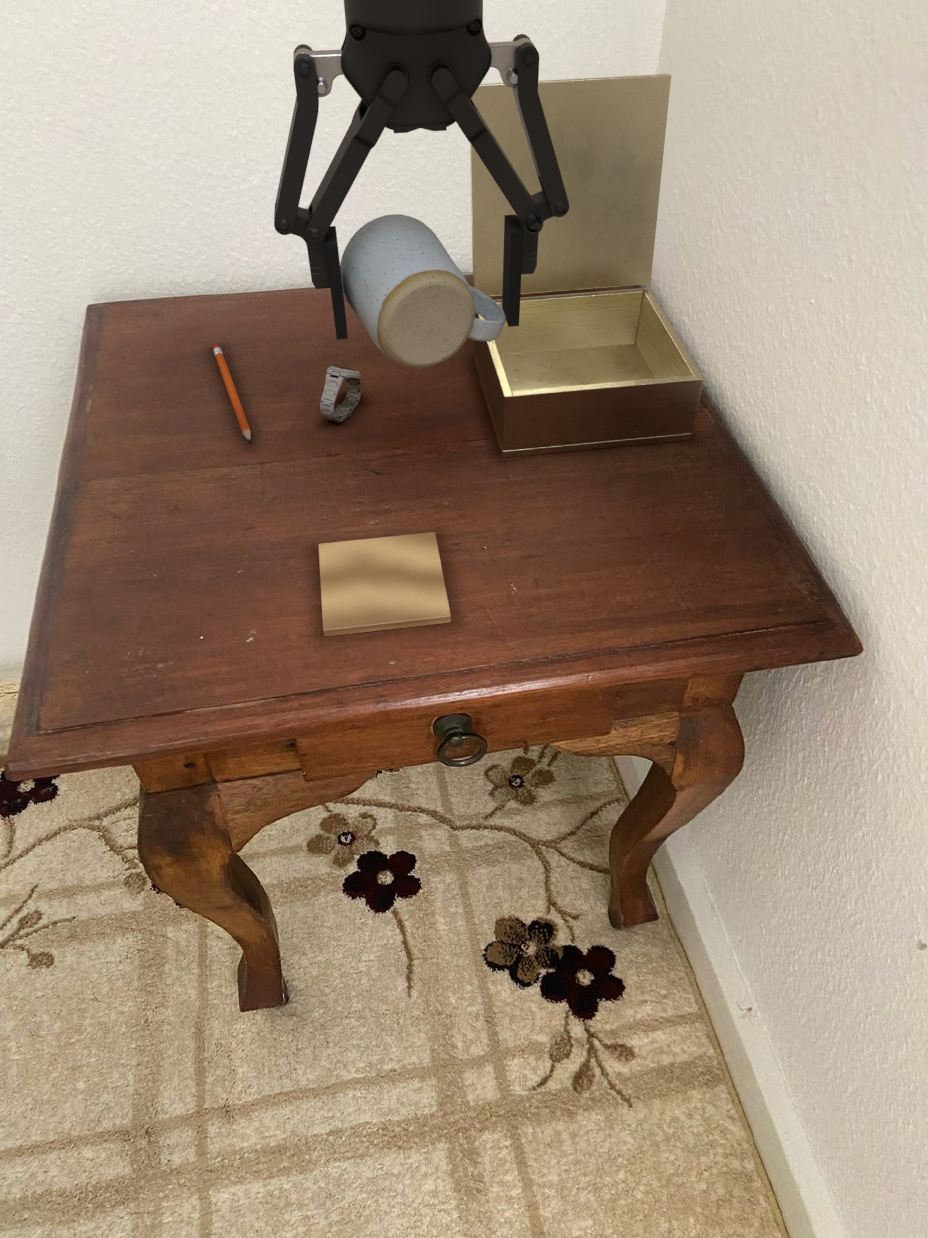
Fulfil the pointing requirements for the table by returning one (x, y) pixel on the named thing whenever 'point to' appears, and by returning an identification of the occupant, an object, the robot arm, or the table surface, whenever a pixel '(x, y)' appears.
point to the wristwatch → (332, 388)
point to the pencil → (232, 392)
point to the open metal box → (588, 375)
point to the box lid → (578, 182)
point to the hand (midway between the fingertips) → (426, 323)
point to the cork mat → (382, 584)
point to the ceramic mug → (413, 293)
